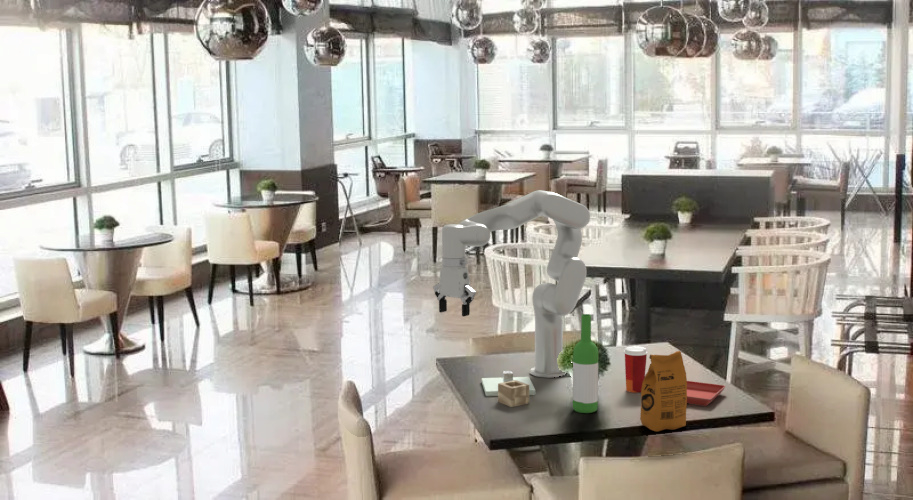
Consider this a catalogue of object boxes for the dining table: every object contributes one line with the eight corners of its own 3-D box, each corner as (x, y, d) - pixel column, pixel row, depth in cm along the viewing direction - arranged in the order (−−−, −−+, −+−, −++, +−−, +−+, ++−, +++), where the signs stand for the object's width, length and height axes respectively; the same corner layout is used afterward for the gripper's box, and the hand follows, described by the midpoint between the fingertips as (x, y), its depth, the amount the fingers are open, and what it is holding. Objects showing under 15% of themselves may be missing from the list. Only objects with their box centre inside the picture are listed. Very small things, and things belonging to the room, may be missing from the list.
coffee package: (635, 423, 332) (637, 351, 328) (671, 418, 336) (673, 347, 333) (653, 433, 323) (655, 359, 319) (690, 428, 327) (692, 354, 324)
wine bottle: (578, 405, 350) (579, 311, 346) (601, 408, 346) (603, 313, 342) (568, 411, 344) (569, 316, 339) (591, 415, 340) (592, 318, 335)
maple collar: (515, 398, 358) (515, 379, 357) (529, 403, 353) (529, 384, 352) (498, 401, 355) (498, 383, 354) (511, 407, 349) (511, 388, 348)
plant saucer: (671, 387, 370) (671, 378, 370) (726, 394, 362) (726, 384, 361) (654, 402, 354) (654, 391, 354) (710, 409, 346) (710, 399, 345)
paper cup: (649, 388, 368) (650, 347, 366) (643, 394, 361) (644, 352, 359) (626, 385, 371) (627, 344, 369) (619, 392, 364) (620, 350, 362)
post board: (528, 381, 378) (528, 365, 377) (535, 394, 362) (535, 378, 361) (481, 382, 377) (481, 366, 376) (486, 396, 361) (485, 379, 360)
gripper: (481, 263, 362) (482, 315, 365) (441, 258, 373) (441, 308, 376) (467, 266, 357) (467, 319, 359) (426, 261, 368) (426, 312, 370)
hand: (454, 313), depth 368 cm, fingers open, 9 cm apart
